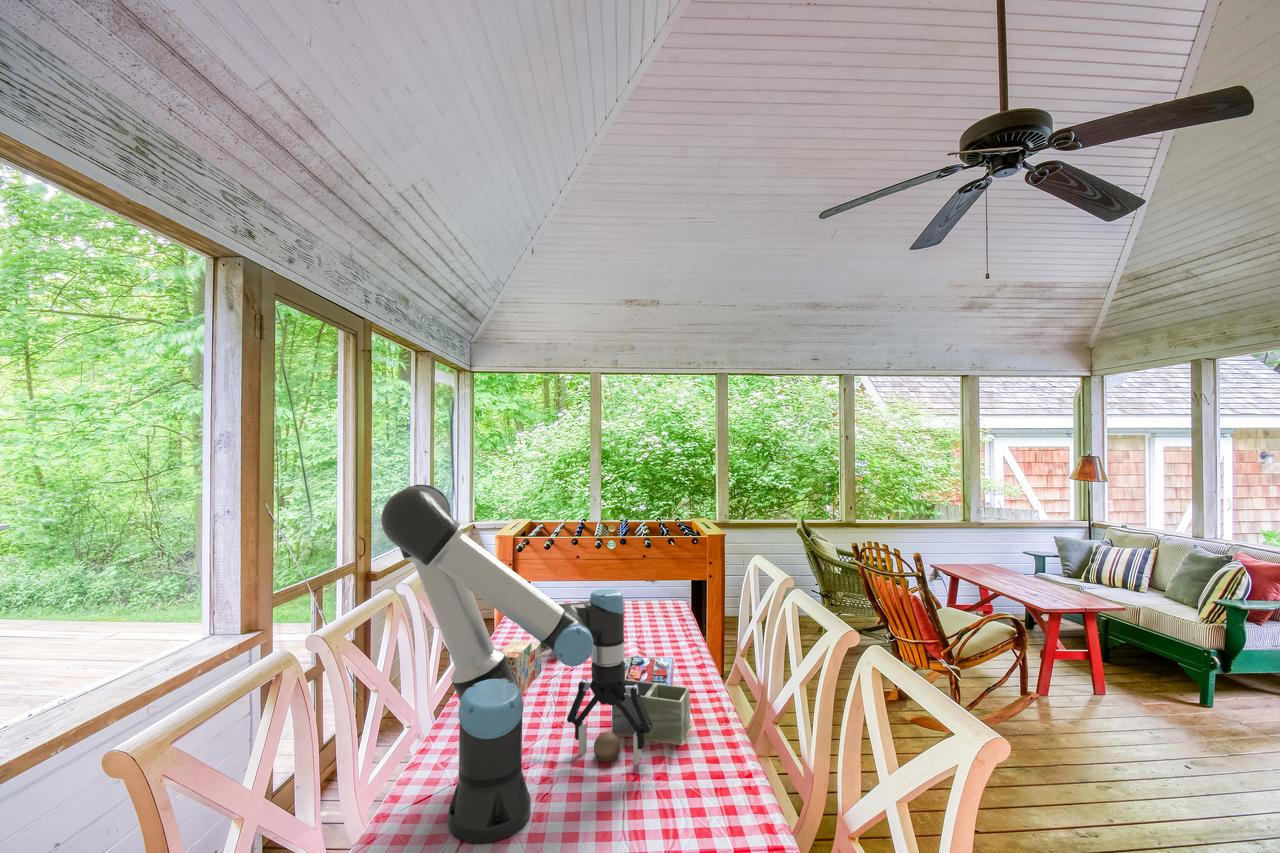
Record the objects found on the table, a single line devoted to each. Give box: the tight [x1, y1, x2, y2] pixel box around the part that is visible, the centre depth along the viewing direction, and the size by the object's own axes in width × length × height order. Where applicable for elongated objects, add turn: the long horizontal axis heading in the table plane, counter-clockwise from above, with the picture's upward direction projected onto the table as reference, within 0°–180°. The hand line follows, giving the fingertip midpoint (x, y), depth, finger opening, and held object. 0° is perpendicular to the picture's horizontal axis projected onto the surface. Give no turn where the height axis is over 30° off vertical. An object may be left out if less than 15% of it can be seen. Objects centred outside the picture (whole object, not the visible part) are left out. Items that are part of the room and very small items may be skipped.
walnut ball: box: [593, 731, 622, 763], centre depth 127 cm, size 6×6×6 cm
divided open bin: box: [609, 679, 693, 747], centre depth 140 cm, size 10×18×10 cm, turn 72°
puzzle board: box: [623, 654, 675, 685], centre depth 174 cm, size 30×23×3 cm
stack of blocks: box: [501, 640, 543, 695], centre depth 169 cm, size 21×6×12 cm, turn 171°
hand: (609, 758), depth 127 cm, fingers open, 12 cm apart
